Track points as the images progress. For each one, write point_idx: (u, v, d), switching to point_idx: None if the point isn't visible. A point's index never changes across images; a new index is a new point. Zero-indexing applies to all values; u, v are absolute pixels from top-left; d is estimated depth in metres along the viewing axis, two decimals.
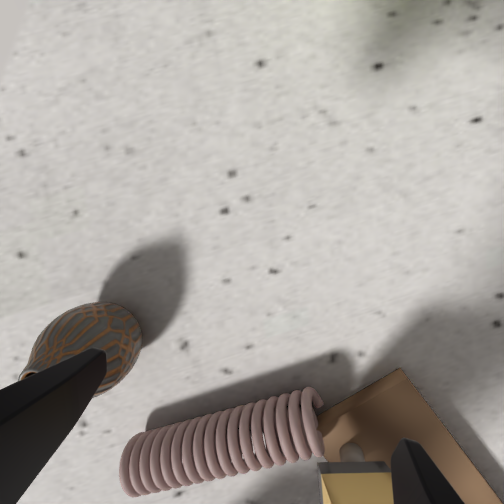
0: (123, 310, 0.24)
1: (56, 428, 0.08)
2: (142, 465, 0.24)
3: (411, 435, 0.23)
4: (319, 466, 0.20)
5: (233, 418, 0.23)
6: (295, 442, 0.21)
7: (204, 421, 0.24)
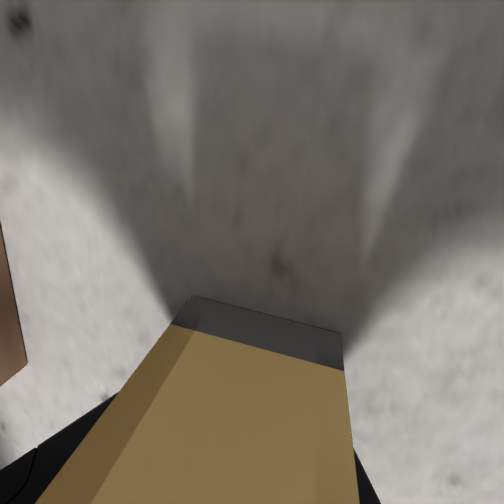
0: None
1: None
2: None
3: None
4: None
5: None
6: None
7: None
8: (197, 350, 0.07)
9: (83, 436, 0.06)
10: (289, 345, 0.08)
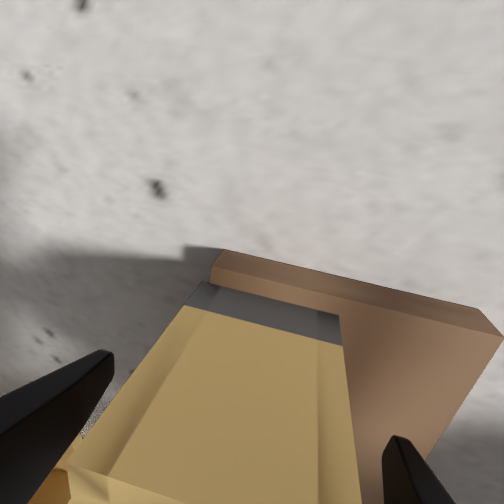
0: None
1: (65, 431, 0.08)
2: None
3: None
4: None
5: None
6: None
7: None
8: (209, 327, 0.08)
9: (7, 411, 0.07)
10: (292, 324, 0.09)
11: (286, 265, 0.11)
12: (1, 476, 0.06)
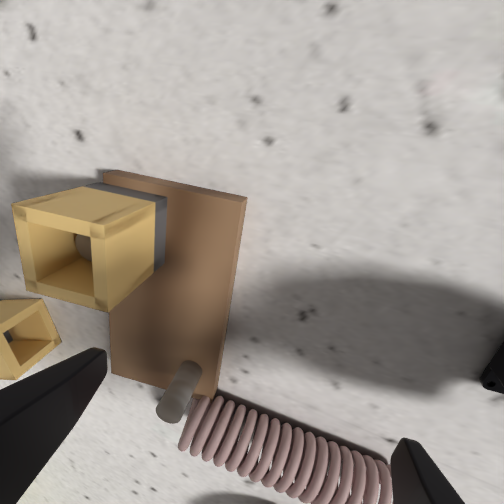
0: None
1: (56, 428, 0.08)
2: None
3: (136, 343, 0.23)
4: None
5: None
6: (197, 453, 0.23)
7: None
8: (90, 191, 0.17)
9: None
10: (136, 195, 0.17)
11: (149, 177, 0.19)
12: None
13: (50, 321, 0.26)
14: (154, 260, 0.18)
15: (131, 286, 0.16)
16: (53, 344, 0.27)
